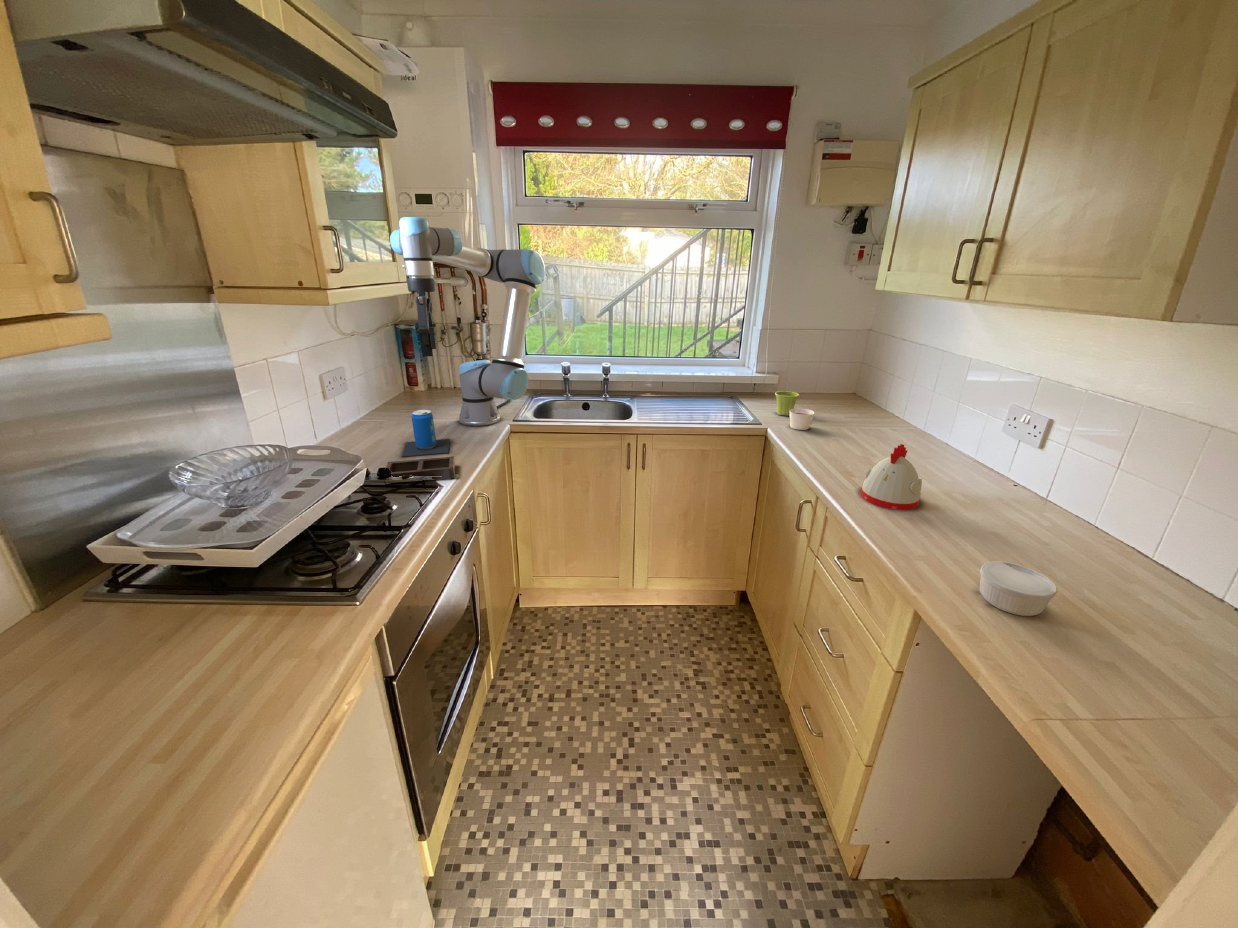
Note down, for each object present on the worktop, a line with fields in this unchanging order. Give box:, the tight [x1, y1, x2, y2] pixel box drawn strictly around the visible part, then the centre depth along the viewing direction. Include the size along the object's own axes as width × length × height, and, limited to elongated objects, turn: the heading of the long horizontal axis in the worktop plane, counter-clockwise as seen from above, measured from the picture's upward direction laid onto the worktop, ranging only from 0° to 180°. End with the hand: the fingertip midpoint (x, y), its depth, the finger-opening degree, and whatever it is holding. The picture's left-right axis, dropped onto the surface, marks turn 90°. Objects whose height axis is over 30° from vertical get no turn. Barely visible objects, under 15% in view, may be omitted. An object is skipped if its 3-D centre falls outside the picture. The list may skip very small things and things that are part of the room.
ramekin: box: [979, 560, 1058, 617], centre depth 93 cm, size 11×11×5 cm
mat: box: [401, 438, 450, 458], centre depth 169 cm, size 14×14×1 cm
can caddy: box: [385, 456, 456, 481], centre depth 147 cm, size 10×18×3 cm, turn 106°
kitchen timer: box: [860, 443, 923, 511], centre depth 133 cm, size 14×14×15 cm
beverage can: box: [411, 409, 437, 450], centre depth 166 cm, size 6×6×12 cm
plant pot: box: [774, 390, 800, 417], centre depth 210 cm, size 9×9×9 cm
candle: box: [789, 407, 815, 431], centre depth 193 cm, size 9×9×6 cm
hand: (429, 352), depth 153 cm, fingers open, 13 cm apart
